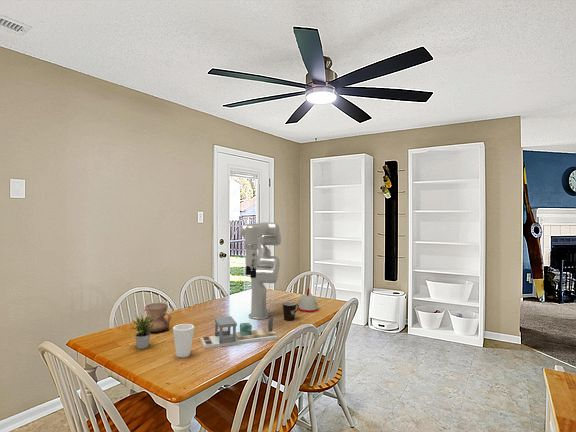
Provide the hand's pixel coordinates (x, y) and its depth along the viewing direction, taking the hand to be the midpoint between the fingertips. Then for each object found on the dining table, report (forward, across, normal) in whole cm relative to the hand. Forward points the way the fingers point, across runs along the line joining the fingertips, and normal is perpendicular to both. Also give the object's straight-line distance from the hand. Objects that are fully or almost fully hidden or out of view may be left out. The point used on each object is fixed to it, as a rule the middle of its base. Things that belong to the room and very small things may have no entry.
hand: (250, 276), depth 203 cm
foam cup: (+31, -26, +40) cm, 57 cm away
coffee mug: (+31, +8, -30) cm, 44 cm away
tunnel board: (+30, -16, +10) cm, 36 cm away
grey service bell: (+31, +25, -50) cm, 64 cm away
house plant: (+31, -11, +57) cm, 66 cm away
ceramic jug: (+31, +14, +50) cm, 60 cm away
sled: (+29, -16, +2) cm, 33 cm away
